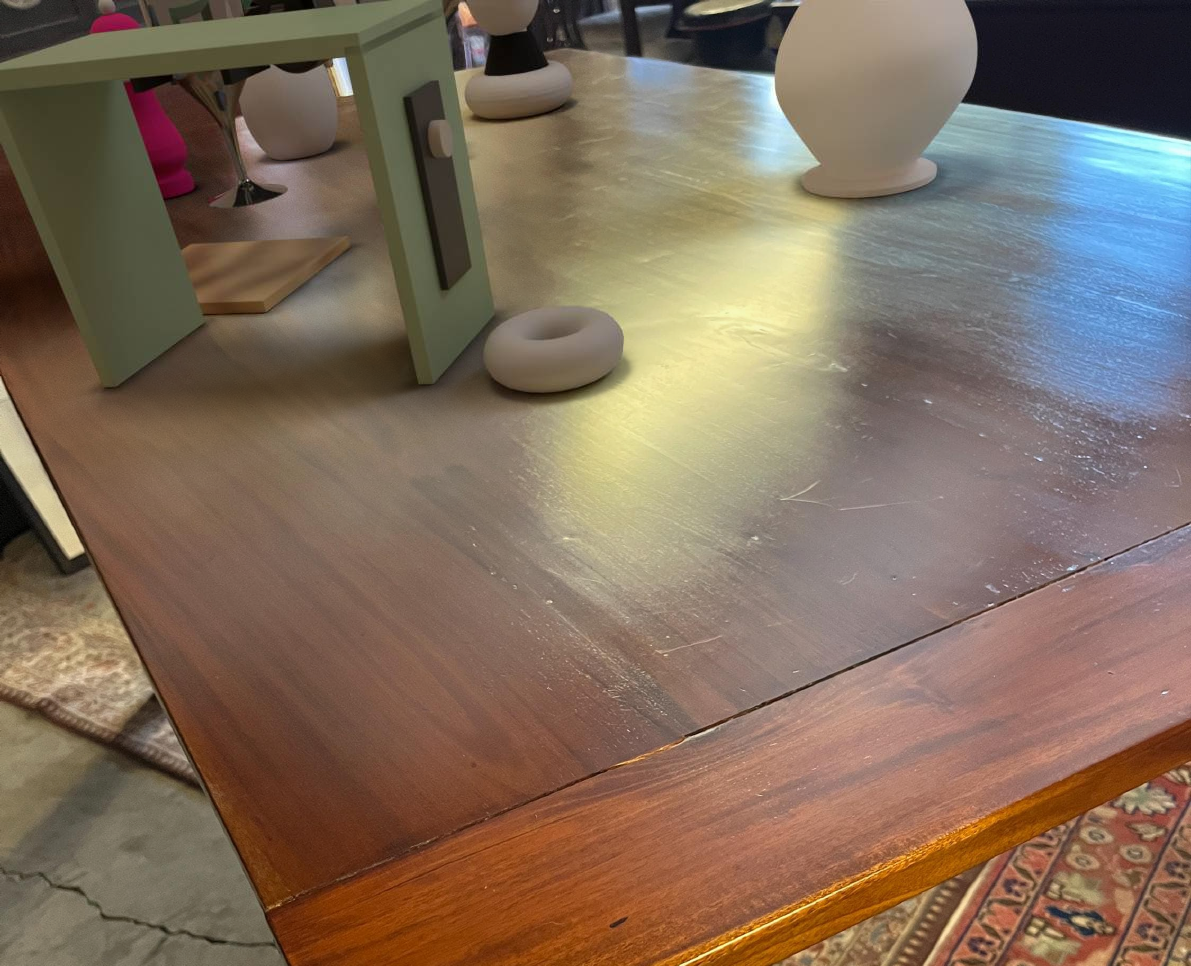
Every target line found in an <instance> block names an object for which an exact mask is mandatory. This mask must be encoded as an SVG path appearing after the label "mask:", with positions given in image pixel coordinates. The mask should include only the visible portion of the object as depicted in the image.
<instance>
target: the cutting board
mask: <svg viewBox="0 0 1191 966" xmlns="http://www.w3.org/2000/svg"><path fill="white" fill-rule="evenodd" d="M350 248H351V243H350V239H349V236H330V237H329V236H327V237H307V238H305V237H304V238H288V239H287V238H286V239H267V240H265V239H264V240H245V241H229V242H228V241H226V242H225V241H224V242H208V243H207V242H205V243H204V242H203V243H190V244H189V245H187V246H186V247H184V248H183V249H180V250H181V253H182V256H183V259H184V262H185V264H186V267H187V270H188V273H189V276H190V279H191V282H192V285H193V288H194V291H195V294H196V297H197V299H198V302H199V305H200V308H201V311H202V314H203V315H219V314H223V315H225V314H253V313H254V314H255V313H257V314H258V313H259V314H260V313H268V312H269V311H270V310H271V309H272V308H274V307H275V306H276V305H278V304H279V303H280V302H281V301H283V300H284V299H285V298H287V297H288V296H289V295H290V294H292V293H293V292H294V291H296V290H297V289H298V288H300V287H301V286H302V285H304V284H305V283H306V282H308V281H309V280H311V278H312V277H314V276H315V275H316V274H318V273H319V272H320V271H322V270H323V269H325V268H326V267H327V266H328V265H330V263H332V262H333V261H335V260H336V259H337V258H339V256H341V255H342V254H343V253H345V252H346V251H347V250H349V249H350Z"/></svg>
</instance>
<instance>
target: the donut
mask: <svg viewBox="0 0 1191 966" xmlns="http://www.w3.org/2000/svg"><path fill="white" fill-rule="evenodd" d="M624 335H625V334H624V332H623V329H622V328H621V326H620V324H619V323H618V322H617V321H616V319H615V318H614V317H613V316H611V315H610V314H609V313H608V312H605V311H603V310H601V309H597V308H593V307H591V306H583V305H556V306H555V305H554V306H548V307H547V306H546V307H542V308H537V309H533V310H529V311H526V312H522V313H519V314H516V315H514V316H513V317H511V318H508V319H506V320H505V321H503V322H501V323H500V324H498V326H496V327H495V328H494V329H493V330H492V331H491V332H490V333H489V335H488V336H487V339H486V342H485V345H484V349H483V352H482V355H483V362H484V365H485V367H486V369H487V371H488V372H489V375H490V376H491V377H492V378H493V380H495V381H496V382H497V383H499V384H501V385H503V386H505V387H506V388H508V389H510V390H515V391H520V392H524V393H540V394H541V393H542V394H545V393H546V394H547V393H556V392H564V391H568V390H574V389H577V388H581V387H583V386H586V385H588V384H591V383H594V382H596V381H597V380H598V381H599V380H600V379H601V378H602V377H604V376H606V375H608V374H609V373H610V372H611V371H612V370H613V369H614V368H615V367H616V365H617V364H618V363H619V362H620V361H621V359H622V356H623V353H624V344H625V336H624Z"/></svg>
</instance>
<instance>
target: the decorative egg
mask: <svg viewBox="0 0 1191 966" xmlns="http://www.w3.org/2000/svg"><path fill="white" fill-rule="evenodd" d="M270 67H271V68H269V69H267V70H265V71H262V72H260V73H258V74H255V75H253V76H251V77H249V78H247V80H246V82H245V85H244V87H243V90H242V93H241V95H240V98H239V101H238V104H239V108H240V112H241V114H242V118H243V121H244V124H245V126H246V127H247V129H248V131H249V133H250V135H251V137H252V138H253V140H254V141H255V143H256V144H257V145H258V147H259V148H260V149H261V150H262V151H263V152H264V153H265V154H266V155H267V156H268V157H269V158H271V159H272V160H278V161H288V160H296V159H297V160H298V159H303V158H309V157H313V156H316V155H319V154H323V153H325V152H327V151H329V150H330V149H331V148H332V146H333V144H334V141H335V139H336V136H337V130H338V125H339V123H338V120H339V110H338V102H337V96H336V92H335V88H334V85H333V82H332V79H331V76H330V74H329V71H328V68H326V67H325V66H324V64H323V65H321V66H319V67H317V68H314V69H312V70H310V71H308V72H305V73H301V74H293V73H288V72H285V71H283V70H281V69H279V68H277V67H276V66H275V65H270Z"/></svg>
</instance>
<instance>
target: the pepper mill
mask: <svg viewBox="0 0 1191 966" xmlns="http://www.w3.org/2000/svg"><path fill="white" fill-rule="evenodd" d="M97 6H98V9H99V11H100V13H101V14H103V15H101V16H99V17H98V18H97V19H95V20H94V21H93V22H92V24H91V27H90V30H89V35H90V34H95V33H104V32H113V31H121V30H130V29H139V28H141V26H140V24H139V23H138V22H137V21H136V20H135V19H134V18H132V17H131V16H130V15H127V14H124V13H119V12H116V5H115V2H114V1H113V0H98V3H97ZM122 81H123V84H124V87H125V90H126V92H127V95H128V98H129V101H130V104H131V107H132V110H133V113H134V116H135V119H136V122H137V125H138V127H139V130H140V133H141V136H142V139H143V142H144V145H145V148H146V151H147V154H148V157H149V160H150V162H151V165H152V168H153V171H154V174H155V177H156V180H157V183H158V186H159V189H160V192H161V194H162V197H163V200H167V199H172V198H175V197H180V196H182V195H184V194H185V195H186V194H189V193H190V192H192V191H193V190H194V189H195V184H194V181H193V178H192V174H191V172H190V171H188V170H186V169H185V164H186V161H187V159H188V149H187V146H186V144H185V141H184V139H183V137H182V135H181V134H180V132H179V129H178V128H177V127H176V126H175V125H174V123H173V121H171V119H170V118H169V117H168V115H167V114H166V112H165V111H164V109H163V108H162V105H161V103H160V102H159V100H158V97H157V95H156V93H155V90H154V88H153V89H150V90H148V91H145V92H143V93H134V90H133V87H132V84H131V81H130V79H122Z"/></svg>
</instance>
